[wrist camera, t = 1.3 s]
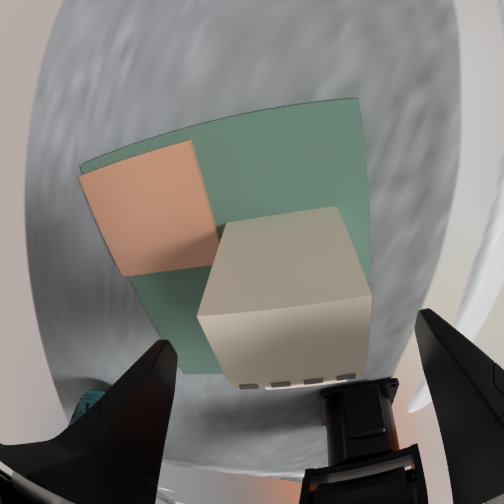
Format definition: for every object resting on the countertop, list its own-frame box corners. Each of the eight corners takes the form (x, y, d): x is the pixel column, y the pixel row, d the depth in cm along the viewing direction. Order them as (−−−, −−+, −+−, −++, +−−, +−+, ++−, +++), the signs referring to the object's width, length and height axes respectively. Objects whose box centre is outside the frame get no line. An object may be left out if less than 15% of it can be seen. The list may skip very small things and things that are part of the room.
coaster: (226, 258, 15) (225, 263, 14) (125, 272, 16) (122, 276, 15) (191, 138, 12) (188, 140, 11) (82, 174, 13) (78, 176, 12)
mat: (362, 354, 19) (363, 359, 18) (184, 369, 21) (183, 373, 20) (355, 97, 10) (358, 98, 10) (83, 162, 13) (79, 165, 12)
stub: (341, 277, 15) (364, 377, 10) (245, 290, 16) (231, 389, 10) (336, 205, 13) (372, 297, 8) (226, 222, 14) (196, 317, 8)
